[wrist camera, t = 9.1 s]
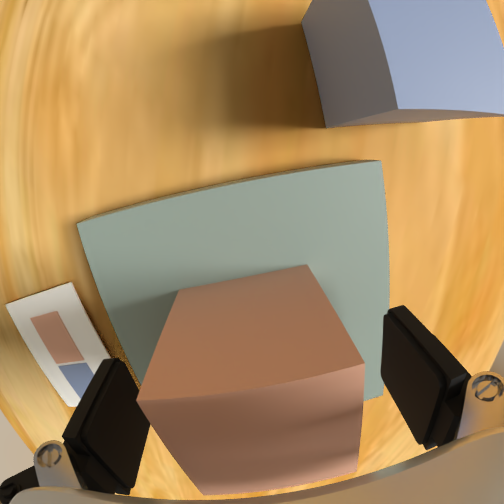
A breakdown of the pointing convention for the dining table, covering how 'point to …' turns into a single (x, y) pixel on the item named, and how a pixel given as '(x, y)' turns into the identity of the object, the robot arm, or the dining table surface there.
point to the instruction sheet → (60, 339)
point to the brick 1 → (256, 385)
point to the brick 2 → (405, 60)
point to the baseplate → (248, 250)
